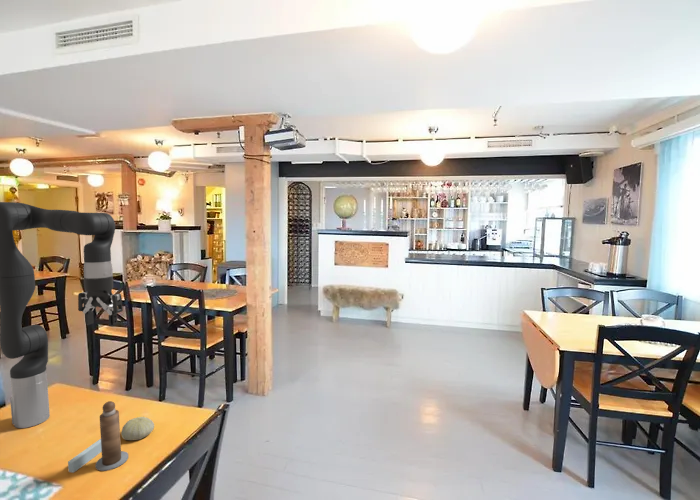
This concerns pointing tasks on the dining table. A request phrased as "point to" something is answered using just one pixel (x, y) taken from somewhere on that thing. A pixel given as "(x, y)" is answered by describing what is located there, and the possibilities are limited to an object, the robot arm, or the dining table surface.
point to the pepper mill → (110, 434)
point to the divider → (84, 456)
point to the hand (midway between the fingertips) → (101, 324)
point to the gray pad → (104, 468)
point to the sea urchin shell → (137, 428)
